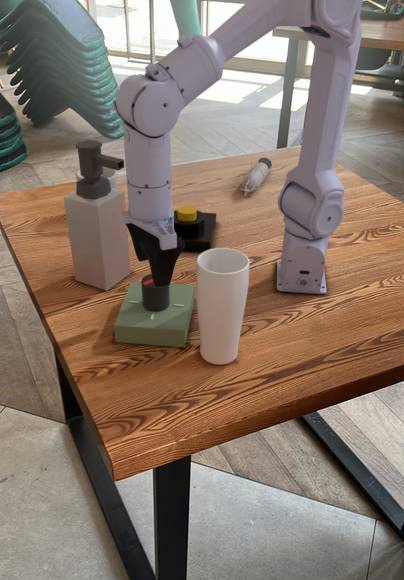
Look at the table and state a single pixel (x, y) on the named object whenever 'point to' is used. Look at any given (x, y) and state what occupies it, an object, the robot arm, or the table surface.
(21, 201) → the table surface
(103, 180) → the soap dispenser
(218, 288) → the drinking glass
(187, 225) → the button block
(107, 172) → the cup
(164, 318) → the dial panel
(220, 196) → the table surface
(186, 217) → the button
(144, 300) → the dial
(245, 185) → the clear plastic bottle
